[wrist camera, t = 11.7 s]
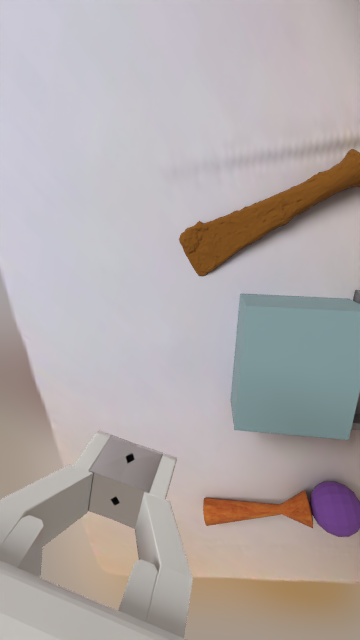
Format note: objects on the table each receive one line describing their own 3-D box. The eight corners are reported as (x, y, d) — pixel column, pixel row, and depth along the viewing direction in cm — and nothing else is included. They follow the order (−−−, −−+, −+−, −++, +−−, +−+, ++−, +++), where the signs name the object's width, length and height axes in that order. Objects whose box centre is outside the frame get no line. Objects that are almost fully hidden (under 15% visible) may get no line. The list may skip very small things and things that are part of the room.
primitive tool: (199, 277, 34) (198, 282, 31) (175, 235, 33) (171, 235, 30) (363, 184, 30) (382, 178, 27) (341, 133, 29) (358, 119, 26)
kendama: (198, 507, 39) (366, 501, 34) (204, 478, 44) (349, 470, 40) (207, 549, 39) (374, 549, 34) (212, 515, 45) (356, 511, 40)
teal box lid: (240, 293, 34) (246, 305, 28) (348, 298, 33) (377, 312, 27) (230, 400, 38) (234, 429, 32) (327, 408, 37) (348, 440, 31)
